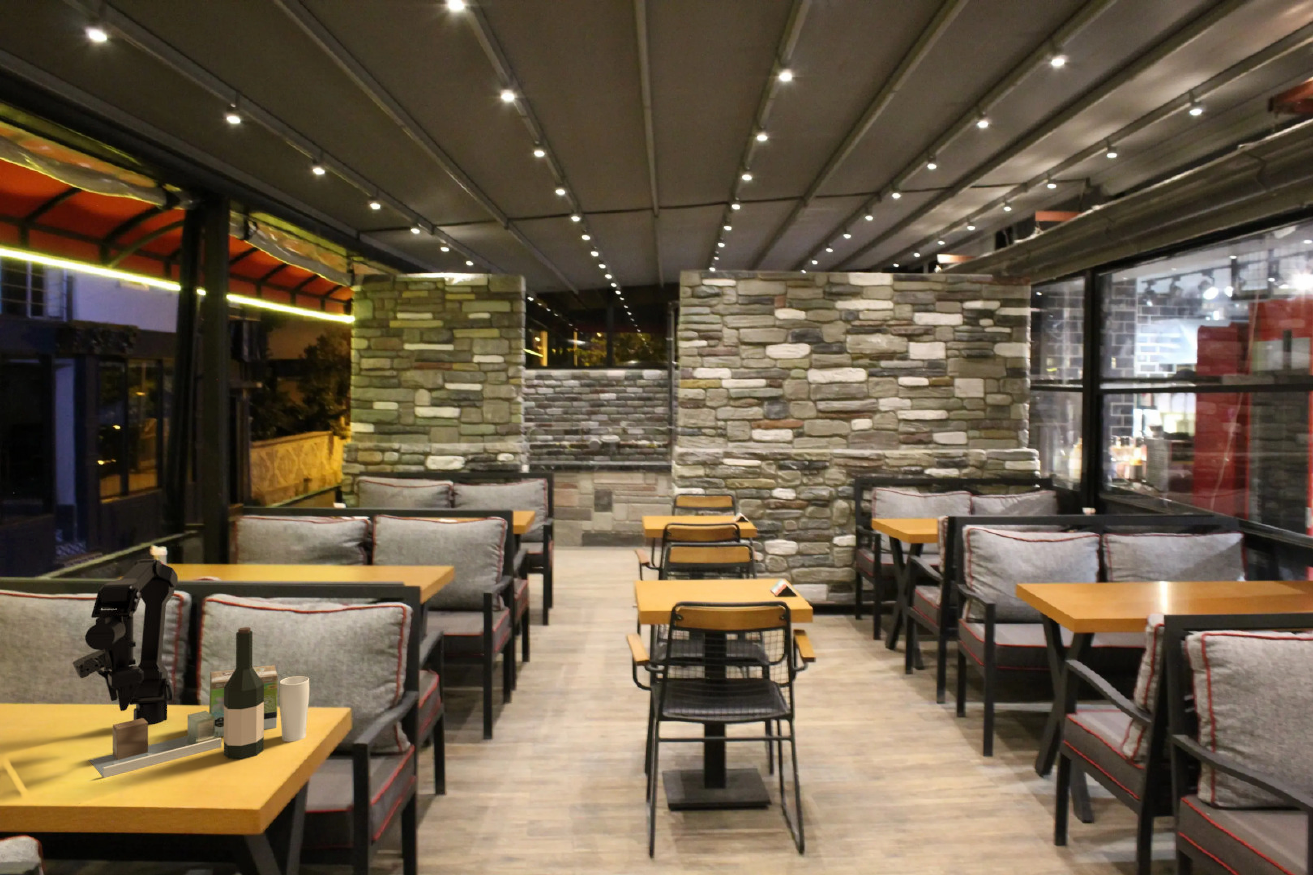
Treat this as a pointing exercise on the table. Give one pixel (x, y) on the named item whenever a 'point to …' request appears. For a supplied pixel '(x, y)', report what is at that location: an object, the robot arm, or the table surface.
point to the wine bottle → (243, 704)
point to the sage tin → (200, 727)
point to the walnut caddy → (130, 738)
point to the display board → (153, 756)
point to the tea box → (270, 696)
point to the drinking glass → (294, 707)
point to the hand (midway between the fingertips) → (118, 705)
